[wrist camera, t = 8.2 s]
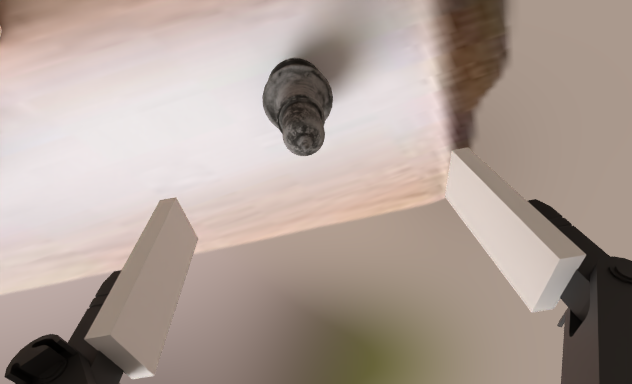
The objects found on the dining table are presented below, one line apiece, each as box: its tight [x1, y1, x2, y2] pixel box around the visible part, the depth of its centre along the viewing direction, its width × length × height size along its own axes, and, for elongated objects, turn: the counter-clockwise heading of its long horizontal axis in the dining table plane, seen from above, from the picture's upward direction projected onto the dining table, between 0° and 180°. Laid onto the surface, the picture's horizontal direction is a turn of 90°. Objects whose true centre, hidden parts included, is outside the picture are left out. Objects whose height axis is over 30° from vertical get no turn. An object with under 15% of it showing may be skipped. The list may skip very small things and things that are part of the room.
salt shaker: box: [263, 59, 333, 156], centre depth 23 cm, size 6×6×12 cm
